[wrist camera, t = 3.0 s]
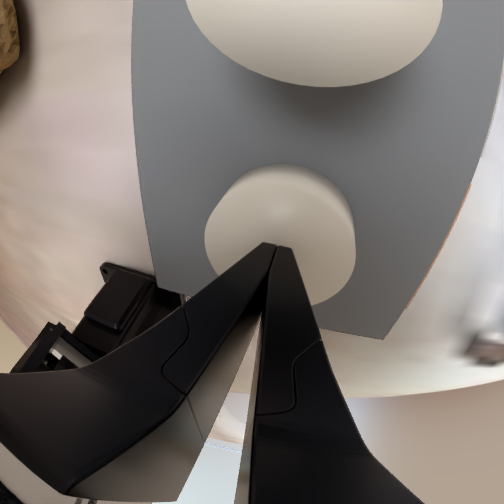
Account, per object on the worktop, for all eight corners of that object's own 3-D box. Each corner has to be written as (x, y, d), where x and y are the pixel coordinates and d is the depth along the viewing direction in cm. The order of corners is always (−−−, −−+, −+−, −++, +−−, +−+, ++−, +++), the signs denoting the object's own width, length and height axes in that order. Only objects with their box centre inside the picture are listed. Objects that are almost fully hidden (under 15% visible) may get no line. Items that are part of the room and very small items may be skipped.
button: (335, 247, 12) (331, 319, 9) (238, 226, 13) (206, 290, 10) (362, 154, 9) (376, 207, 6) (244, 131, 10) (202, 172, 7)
